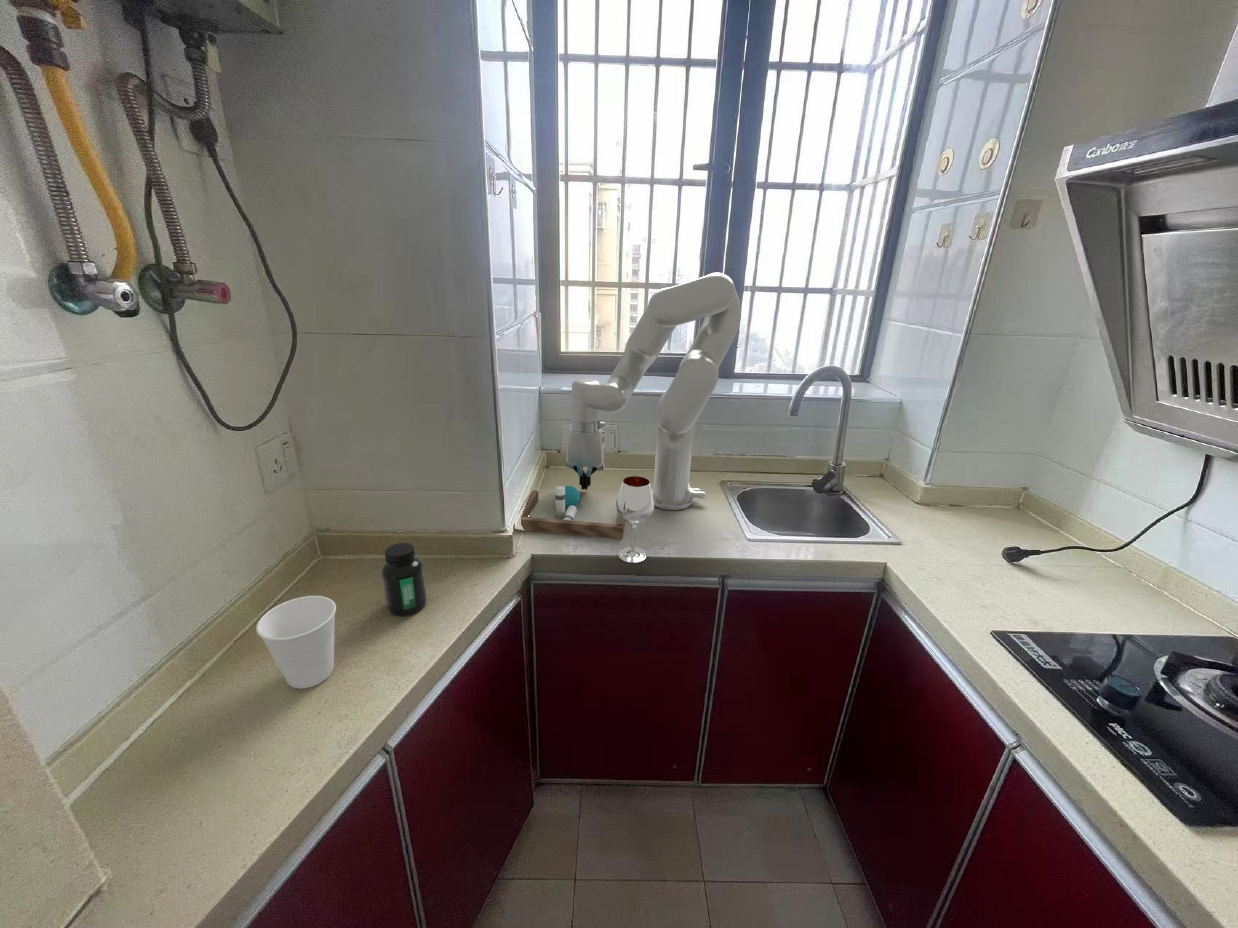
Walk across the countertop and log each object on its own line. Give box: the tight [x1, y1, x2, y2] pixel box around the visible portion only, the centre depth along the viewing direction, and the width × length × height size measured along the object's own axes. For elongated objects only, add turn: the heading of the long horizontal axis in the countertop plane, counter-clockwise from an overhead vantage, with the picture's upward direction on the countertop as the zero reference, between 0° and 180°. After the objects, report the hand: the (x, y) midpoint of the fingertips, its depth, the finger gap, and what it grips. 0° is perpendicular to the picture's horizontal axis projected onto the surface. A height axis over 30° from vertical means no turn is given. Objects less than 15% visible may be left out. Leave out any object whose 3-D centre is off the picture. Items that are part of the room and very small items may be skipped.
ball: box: [563, 485, 581, 509], centre depth 131 cm, size 6×6×6 cm
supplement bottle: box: [380, 542, 427, 617], centre depth 90 cm, size 7×7×12 cm
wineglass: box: [615, 475, 655, 564], centre depth 108 cm, size 8×8×18 cm
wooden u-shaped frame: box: [521, 489, 627, 540], centre depth 126 cm, size 26×17×3 cm, turn 84°
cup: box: [255, 595, 337, 690], centre depth 74 cm, size 10×10×11 cm
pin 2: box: [563, 505, 578, 521], centre depth 125 cm, size 2×2×8 cm
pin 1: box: [554, 485, 566, 520], centre depth 125 cm, size 2×2×8 cm
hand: (585, 487), depth 141 cm, fingers closed
